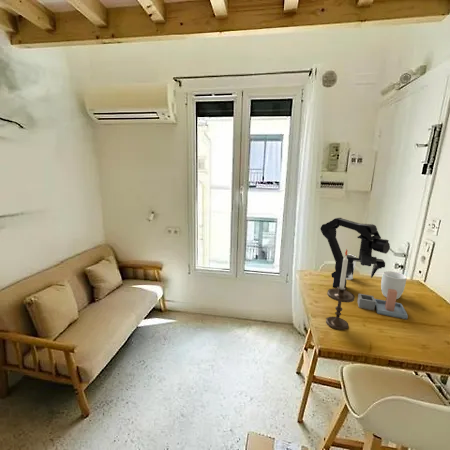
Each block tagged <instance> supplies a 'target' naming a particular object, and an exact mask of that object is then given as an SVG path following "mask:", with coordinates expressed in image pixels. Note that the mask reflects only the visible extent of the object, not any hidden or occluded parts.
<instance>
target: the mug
mask: <svg viewBox="0 0 450 450" xmlns="http://www.w3.org/2000/svg"><path fill="white" fill-rule="evenodd" d="M406 284H407V276H406V275H405V274H403V273H400V272H398V271H393V270H385V271H383V272H382V276H381V281H380V288H381V293H382V296H384V297H385V298H387V293H388V289H394V290H396V291H397V297H396V300H398V299H399V298H401V297H402V295H403V293H404V291H405V289H406V288H405V287H406Z"/></svg>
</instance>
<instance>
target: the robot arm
mask: <svg viewBox="0 0 450 450" xmlns="http://www.w3.org/2000/svg"><path fill="white" fill-rule="evenodd" d="M339 227H343V228H347V229H348V230H349V229H350V230H353V231H355V232H357V233H358V234H360V235H358V236H357V239H360V244H359V245H360V247H359V251H358V253H359V254H358V257H356V258H354V257H353V255H354V254H352V255H344V256H343V252H342V250H341V248H340V244H339V242H338V239H337V229H338V228H339ZM319 228H320V232H321V233H322V234H321V235H323V237H324V238H325V239H326V240H327V242H328V245H329V248H330V250H331V253H332V256H333V259H334V262H335V266H334V269H335V271H333V272H332V273H331V278H333V282H332V289H337V287H340V279H341V272H342V264H343V258H344V257H345V256H347V259H348V264H347V271H346V278H348V276H349V275H351V273H352V275H353V276H354V271H353V265H354V264H353V261H356V263H357V262H358V263H360V265H361V266H367V267H372V265H373V267H372V269H371V273H370V278H373V277H374V276H375V274H376V272H377V271H378V270H379V269H382V268H385V267H386V261H385V260H384V259H381V258H377V257H376V256H372V255H373V254H372V253H373V251H374V252H379V253H382V254H387V253H388V252H389V251H390V248H391V245H390V243H389V240H388V239H385V238H382V237H381V235H380V233H379V232H378V228H377V226H376V225H375V224H373V223H359V222H355V221H353V220H348V219H347V218H346V219H345V218H343V217H335V218H334V219H332V220H330V221H328V222H326V223H324V224H322V225H321V226H320V227H319ZM346 278H345V285H344V288H346V289H347V279H346Z"/></svg>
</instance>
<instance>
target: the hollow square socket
mask: <svg viewBox="0 0 450 450" xmlns="http://www.w3.org/2000/svg"><path fill="white" fill-rule="evenodd" d="M375 299H376V298H375V297H374V295H370V294H363V293H358V295H357V305H358V308H359V309H364V310H369V311H375V309H376V308H375Z"/></svg>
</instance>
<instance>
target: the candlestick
mask: <svg viewBox="0 0 450 450" xmlns="http://www.w3.org/2000/svg"><path fill="white" fill-rule="evenodd" d="M344 254H345V255H347V254H348V249H347V248H346V249H345V252H344ZM345 255H344V257H343V264H342V272H341V279H340V287H337V288H330V289H328V290H327V293H326V295H327V296H328V297H329V298H330V299H331V300H334V301H337V306H335V312H334V313H335V316H328V317H326V320H325V324H326V325H327V326H328V327H330V328H332V329H334V330H339V331H344V330H345V331H346V330H347V329H348V328H349V323H348V322H347V320H344V318H341V315H342V313H341V312H342V311H343V308H342V303H352V302H354V301H355V298H356V297H355V295H354V293H352V292H351V291H348V290H347V287H346V288H344V285H345V278H346V271H347V264H348V259H347V256H345Z"/></svg>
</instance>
